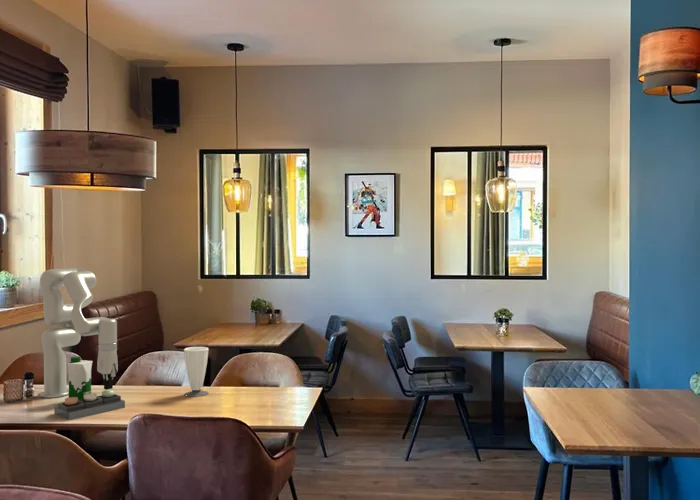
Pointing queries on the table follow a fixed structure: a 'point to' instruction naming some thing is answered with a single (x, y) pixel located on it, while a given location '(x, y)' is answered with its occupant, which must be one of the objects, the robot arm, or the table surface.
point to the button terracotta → (71, 400)
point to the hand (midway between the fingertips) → (108, 388)
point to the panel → (89, 407)
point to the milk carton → (79, 377)
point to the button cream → (90, 397)
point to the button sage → (108, 393)
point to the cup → (196, 369)
